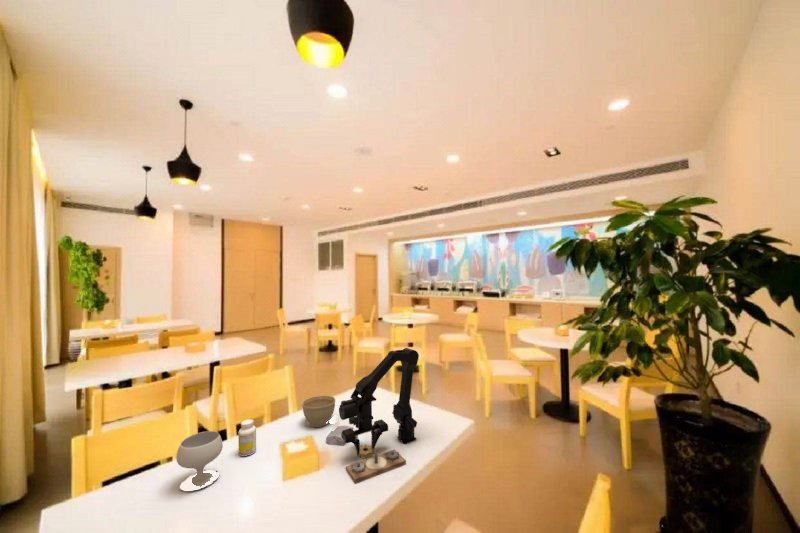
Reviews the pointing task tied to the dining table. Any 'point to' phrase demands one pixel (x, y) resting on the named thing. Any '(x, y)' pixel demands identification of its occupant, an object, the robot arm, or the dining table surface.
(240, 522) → the dining table surface
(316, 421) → the planter bowl
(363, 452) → the wooden gear
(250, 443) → the supplement bottle
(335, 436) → the stone block
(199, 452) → the chalice
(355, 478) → the gear board
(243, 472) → the dining table surface
